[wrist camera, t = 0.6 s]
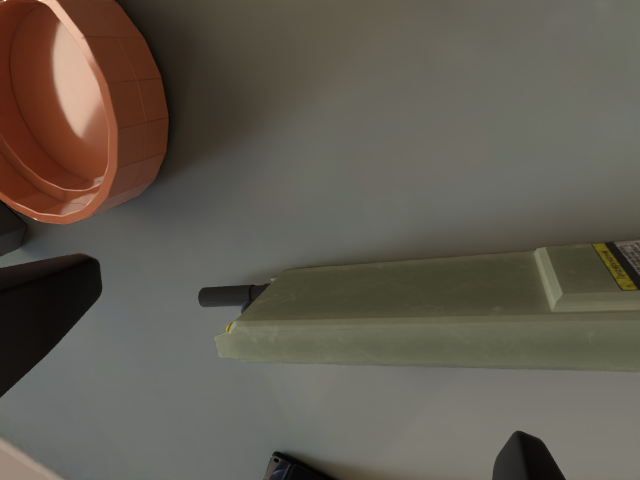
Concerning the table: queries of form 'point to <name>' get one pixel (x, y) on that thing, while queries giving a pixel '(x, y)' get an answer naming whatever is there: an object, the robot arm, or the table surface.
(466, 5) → the table surface
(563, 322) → the handheld radio
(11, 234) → the remote
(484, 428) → the table surface
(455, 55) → the table surface
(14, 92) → the bowl
